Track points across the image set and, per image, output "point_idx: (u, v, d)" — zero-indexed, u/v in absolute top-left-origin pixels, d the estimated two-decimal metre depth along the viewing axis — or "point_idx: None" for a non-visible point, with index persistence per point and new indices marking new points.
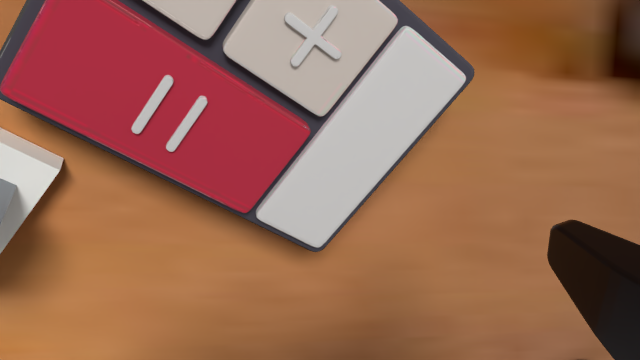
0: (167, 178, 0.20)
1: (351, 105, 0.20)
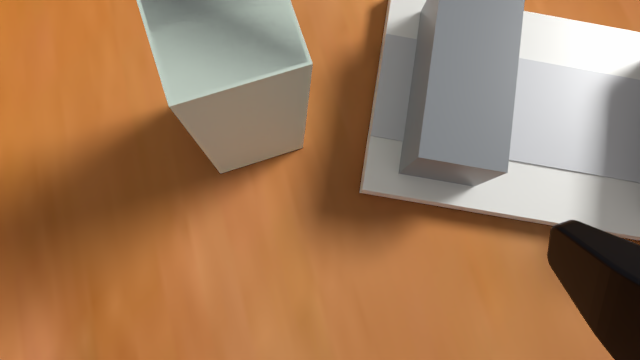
0: None
1: None
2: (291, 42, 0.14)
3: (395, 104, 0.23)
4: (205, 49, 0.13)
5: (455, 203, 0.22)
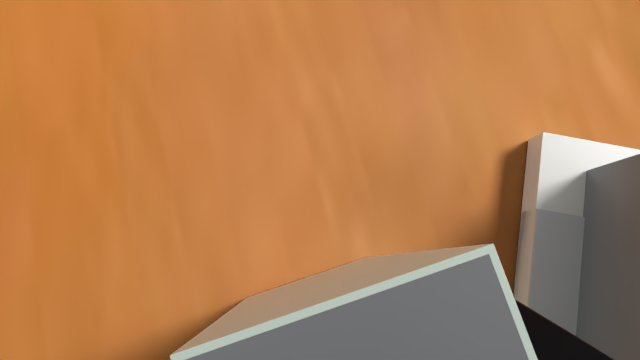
0: None
1: None
2: None
3: (556, 323, 0.15)
4: None
5: None
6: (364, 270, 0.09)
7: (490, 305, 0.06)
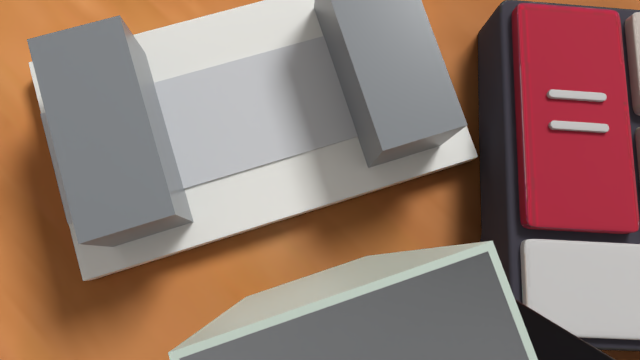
0: (508, 144, 0.21)
1: None
2: None
3: None
4: None
5: (181, 247, 0.21)
6: (363, 268, 0.09)
7: (489, 303, 0.06)
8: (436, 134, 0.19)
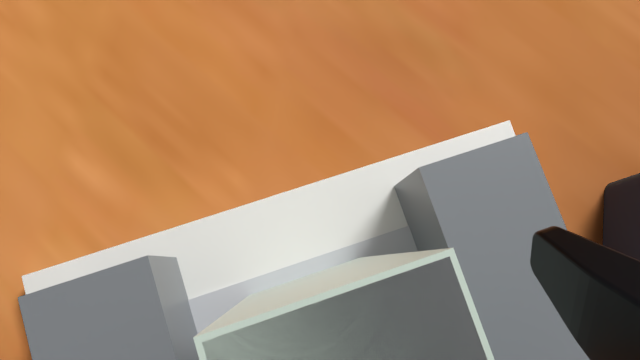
0: None
1: None
2: None
3: None
4: None
5: None
6: (353, 269, 0.11)
7: (450, 298, 0.07)
8: None
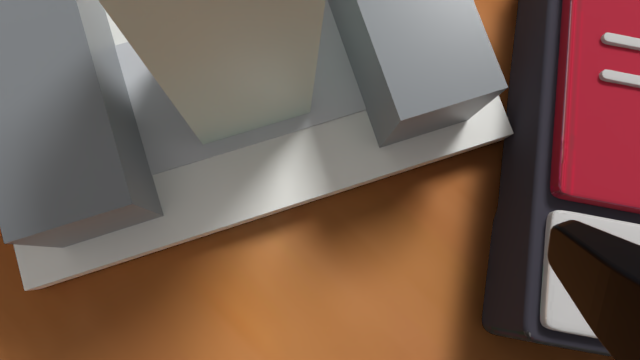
0: (545, 94, 0.17)
1: None
2: None
3: None
4: None
5: (148, 248, 0.17)
6: None
7: None
8: (468, 99, 0.15)
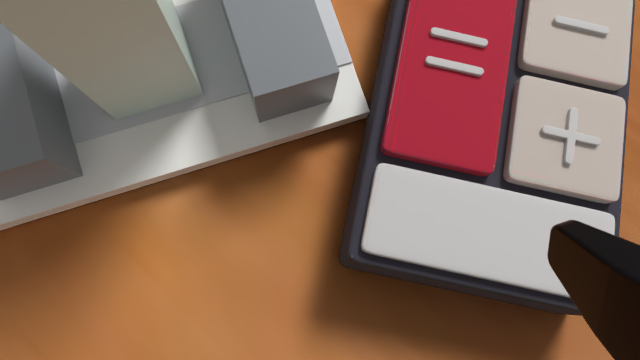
0: (385, 74, 0.21)
1: (529, 201, 0.20)
2: None
3: None
4: None
5: (70, 201, 0.21)
6: None
7: None
8: (308, 81, 0.19)
